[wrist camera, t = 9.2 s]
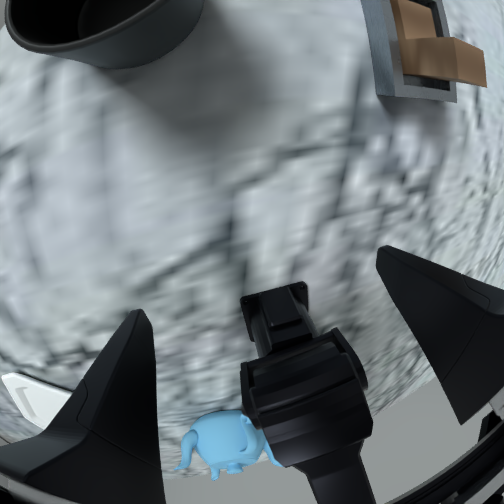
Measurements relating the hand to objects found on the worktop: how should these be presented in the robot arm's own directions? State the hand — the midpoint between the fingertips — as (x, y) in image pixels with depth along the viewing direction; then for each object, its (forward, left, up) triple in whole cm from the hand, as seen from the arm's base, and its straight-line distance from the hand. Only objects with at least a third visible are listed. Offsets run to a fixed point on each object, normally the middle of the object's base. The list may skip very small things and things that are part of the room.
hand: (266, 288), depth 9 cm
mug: (+16, +4, -12) cm, 21 cm away
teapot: (-40, +10, -12) cm, 43 cm away
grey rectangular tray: (+11, -17, -12) cm, 23 cm away
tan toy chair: (+10, -17, -12) cm, 23 cm away
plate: (-31, +37, -13) cm, 50 cm away
